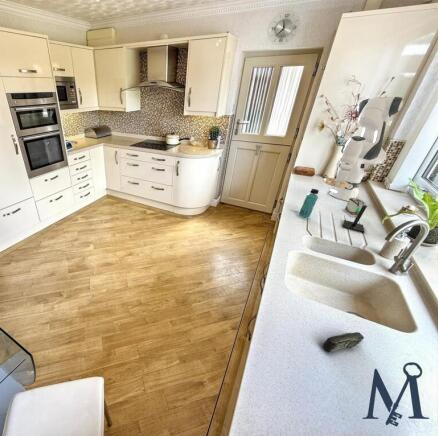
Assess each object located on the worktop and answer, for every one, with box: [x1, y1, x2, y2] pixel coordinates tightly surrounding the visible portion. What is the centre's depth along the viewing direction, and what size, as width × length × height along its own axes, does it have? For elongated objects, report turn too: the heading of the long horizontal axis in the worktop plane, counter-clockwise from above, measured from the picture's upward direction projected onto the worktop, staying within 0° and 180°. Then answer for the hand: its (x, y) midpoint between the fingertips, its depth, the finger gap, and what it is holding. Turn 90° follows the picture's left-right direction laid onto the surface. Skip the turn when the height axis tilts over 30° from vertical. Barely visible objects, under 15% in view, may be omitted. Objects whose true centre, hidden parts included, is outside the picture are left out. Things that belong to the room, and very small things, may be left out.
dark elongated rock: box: [322, 331, 365, 353], centre depth 77 cm, size 5×3×15 cm
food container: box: [344, 197, 366, 217], centre depth 159 cm, size 12×6×10 cm, turn 168°
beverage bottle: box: [298, 188, 319, 219], centre depth 150 cm, size 6×7×20 cm
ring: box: [323, 177, 349, 188], centre depth 158 cm, size 14×14×2 cm
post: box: [342, 204, 368, 234], centre depth 143 cm, size 10×10×15 cm
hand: (336, 184), depth 153 cm, fingers closed on ring, 2 cm apart
